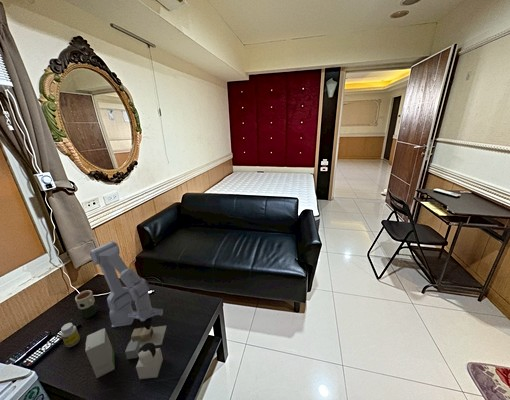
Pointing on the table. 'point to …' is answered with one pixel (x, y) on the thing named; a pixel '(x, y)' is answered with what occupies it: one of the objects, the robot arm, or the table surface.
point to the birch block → (142, 334)
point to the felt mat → (155, 336)
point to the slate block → (132, 350)
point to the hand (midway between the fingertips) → (149, 327)
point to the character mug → (86, 303)
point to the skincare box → (100, 352)
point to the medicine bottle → (149, 361)
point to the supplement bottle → (70, 335)
